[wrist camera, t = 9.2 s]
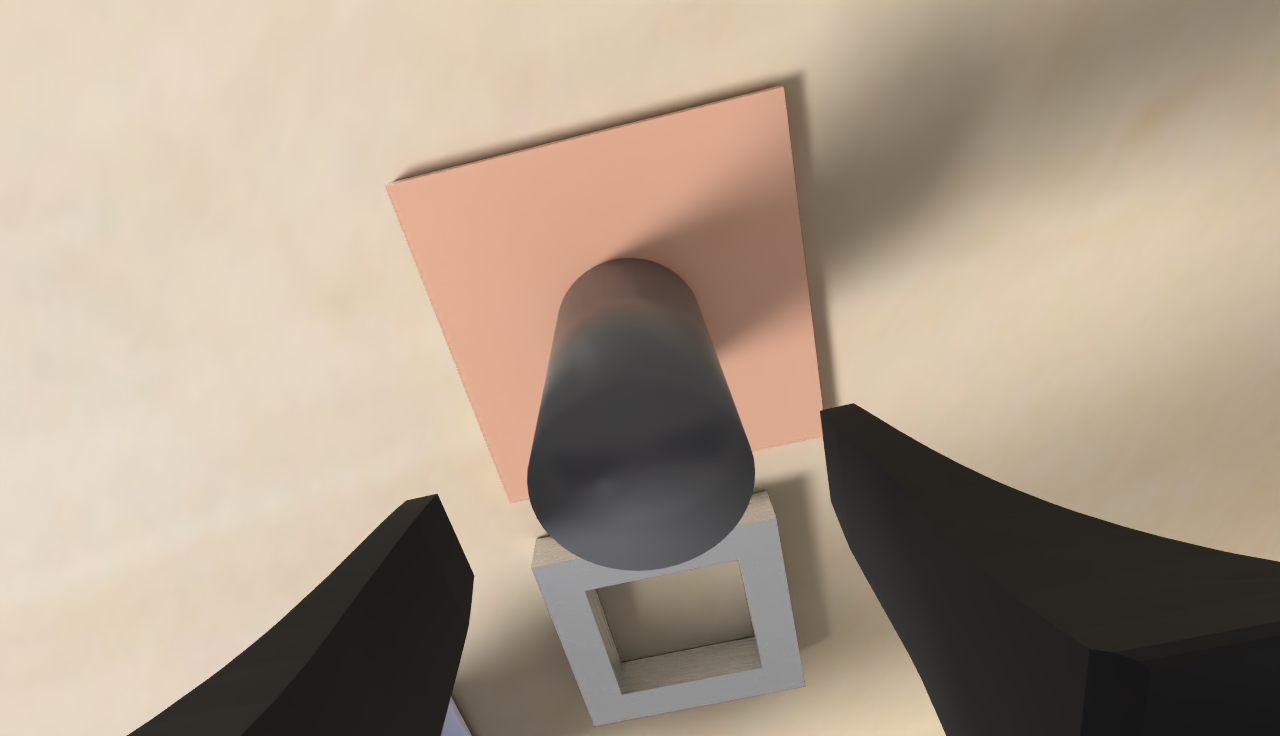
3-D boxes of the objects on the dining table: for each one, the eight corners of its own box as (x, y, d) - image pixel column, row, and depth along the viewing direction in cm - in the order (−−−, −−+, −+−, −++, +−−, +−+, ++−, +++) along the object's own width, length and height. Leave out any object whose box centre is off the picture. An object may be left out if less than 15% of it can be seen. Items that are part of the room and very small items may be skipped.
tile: (512, 492, 23) (509, 503, 22) (391, 181, 18) (384, 185, 18) (820, 426, 22) (825, 435, 22) (778, 85, 18) (783, 86, 17)
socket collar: (595, 693, 28) (594, 726, 26) (536, 539, 24) (531, 568, 23) (795, 654, 27) (805, 686, 26) (766, 490, 23) (776, 517, 22)
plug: (578, 405, 21) (562, 588, 14) (538, 277, 19) (496, 411, 12) (713, 375, 21) (769, 546, 13) (686, 242, 19) (734, 357, 11)
